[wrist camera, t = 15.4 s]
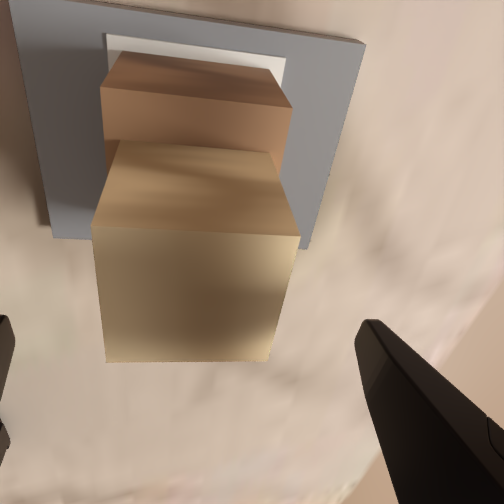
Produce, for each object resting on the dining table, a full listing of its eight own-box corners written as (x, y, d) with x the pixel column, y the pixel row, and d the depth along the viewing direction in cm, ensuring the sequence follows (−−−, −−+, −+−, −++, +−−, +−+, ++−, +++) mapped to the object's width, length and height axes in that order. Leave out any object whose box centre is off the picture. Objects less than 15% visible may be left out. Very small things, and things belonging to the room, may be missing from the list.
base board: (58, 227, 22) (52, 240, 21) (16, -11, 15) (4, -8, 14) (303, 239, 24) (308, 251, 23) (358, 40, 18) (367, 46, 17)
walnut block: (130, 218, 21) (115, 284, 17) (122, 50, 16) (99, 86, 12) (244, 225, 22) (256, 288, 18) (269, 69, 17) (292, 108, 13)
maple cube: (127, 258, 16) (106, 362, 12) (120, 139, 13) (90, 225, 9) (249, 263, 17) (267, 361, 13) (270, 152, 14) (300, 236, 10)
